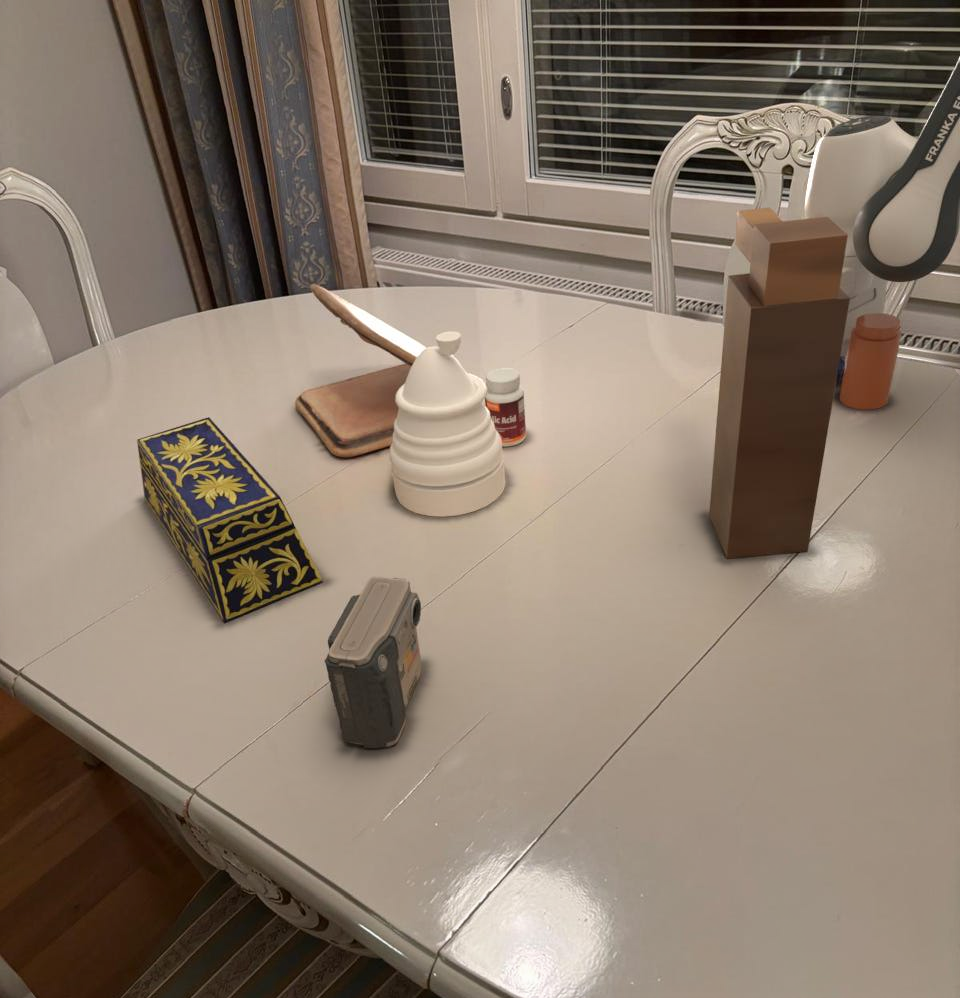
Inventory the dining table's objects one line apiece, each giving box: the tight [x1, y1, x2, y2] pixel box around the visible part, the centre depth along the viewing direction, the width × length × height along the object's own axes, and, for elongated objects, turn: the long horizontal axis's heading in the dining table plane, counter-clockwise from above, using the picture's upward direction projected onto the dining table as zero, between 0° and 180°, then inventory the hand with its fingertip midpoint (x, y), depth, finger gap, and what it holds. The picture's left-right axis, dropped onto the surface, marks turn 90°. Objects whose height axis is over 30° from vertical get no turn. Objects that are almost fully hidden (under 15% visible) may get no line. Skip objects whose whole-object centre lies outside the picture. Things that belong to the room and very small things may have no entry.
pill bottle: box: [484, 367, 527, 447], centre depth 111 cm, size 5×5×8 cm
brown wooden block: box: [734, 207, 848, 306], centre depth 79 cm, size 16×6×5 cm, turn 2°
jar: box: [838, 312, 903, 411], centre depth 110 cm, size 6×6×10 cm
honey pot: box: [389, 330, 507, 518], centre depth 100 cm, size 13×13×18 cm
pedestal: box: [708, 272, 850, 560], centre depth 85 cm, size 8×8×25 cm
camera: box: [324, 576, 423, 749], centre depth 76 cm, size 11×6×10 cm, turn 164°
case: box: [294, 283, 427, 458], centre depth 118 cm, size 20×21×16 cm
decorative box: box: [136, 416, 324, 624], centre depth 99 cm, size 11×30×9 cm, turn 31°
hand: (818, 378), depth 119 cm, fingers closed on lid, 6 cm apart
